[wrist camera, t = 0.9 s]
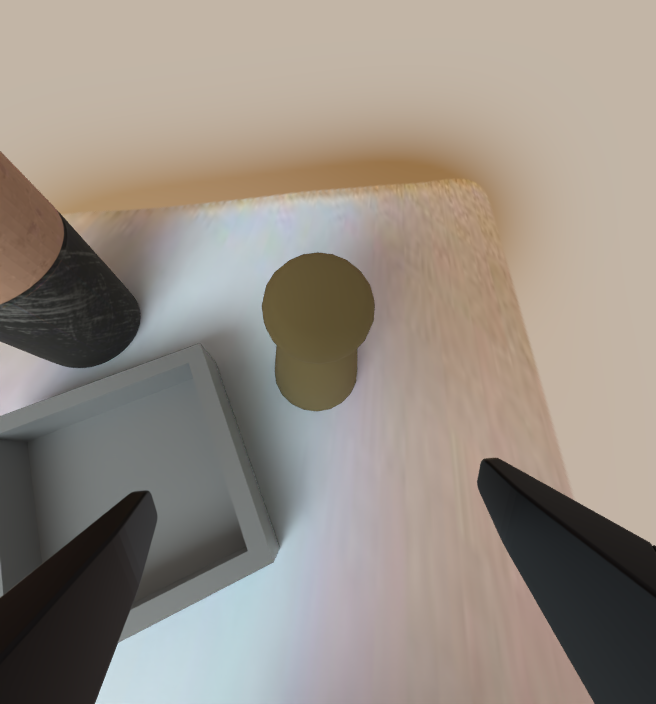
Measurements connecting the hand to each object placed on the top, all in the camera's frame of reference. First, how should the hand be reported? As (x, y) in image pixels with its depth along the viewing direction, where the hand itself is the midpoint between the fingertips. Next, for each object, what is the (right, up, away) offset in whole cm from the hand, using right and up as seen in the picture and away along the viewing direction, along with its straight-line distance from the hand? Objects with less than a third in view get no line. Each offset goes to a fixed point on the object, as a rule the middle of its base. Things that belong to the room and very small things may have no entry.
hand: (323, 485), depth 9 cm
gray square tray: (-11, -5, +12) cm, 17 cm away
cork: (-1, +2, +15) cm, 15 cm away
